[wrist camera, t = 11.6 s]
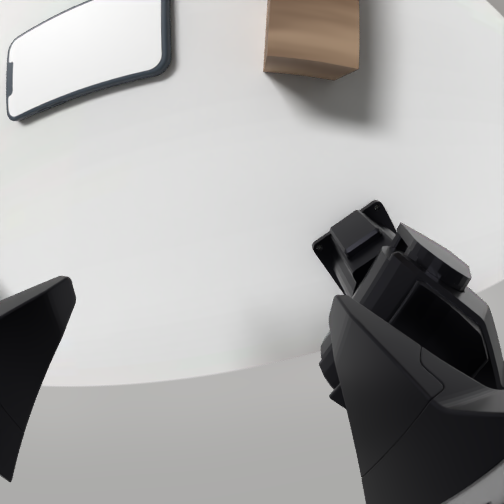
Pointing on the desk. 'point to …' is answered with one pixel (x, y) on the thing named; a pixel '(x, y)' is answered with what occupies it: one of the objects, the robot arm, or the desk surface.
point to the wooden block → (312, 37)
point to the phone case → (86, 53)
